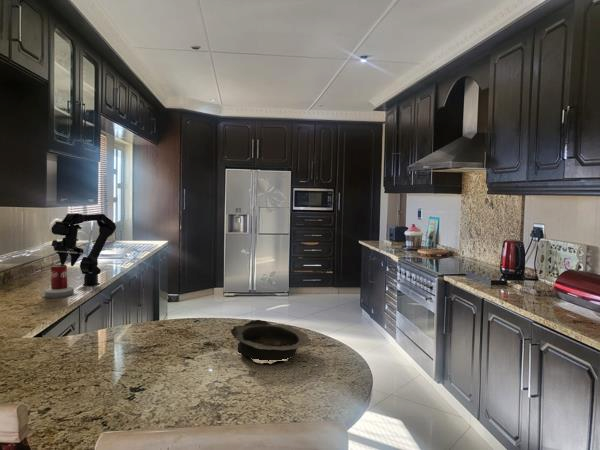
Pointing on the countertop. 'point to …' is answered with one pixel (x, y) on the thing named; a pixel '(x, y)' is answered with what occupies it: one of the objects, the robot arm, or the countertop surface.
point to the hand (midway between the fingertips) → (67, 265)
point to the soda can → (58, 277)
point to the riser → (59, 293)
